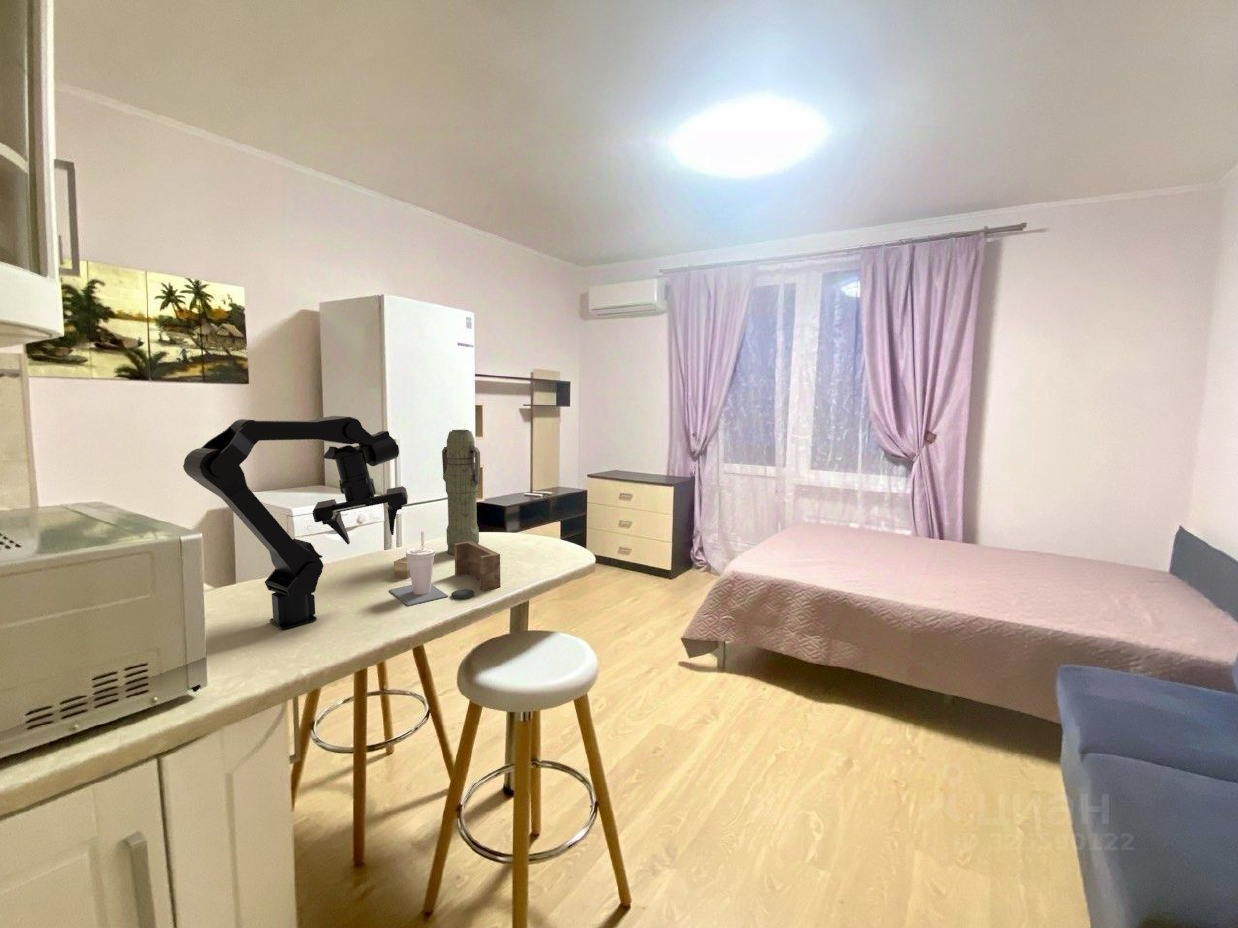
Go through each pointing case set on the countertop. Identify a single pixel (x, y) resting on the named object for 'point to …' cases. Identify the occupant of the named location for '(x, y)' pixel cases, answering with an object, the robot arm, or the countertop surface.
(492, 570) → the cubby
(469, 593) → the dark grey disc
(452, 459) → the thermos
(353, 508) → the robot arm
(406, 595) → the mat
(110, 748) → the countertop surface
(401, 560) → the oak cube
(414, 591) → the smoothie
